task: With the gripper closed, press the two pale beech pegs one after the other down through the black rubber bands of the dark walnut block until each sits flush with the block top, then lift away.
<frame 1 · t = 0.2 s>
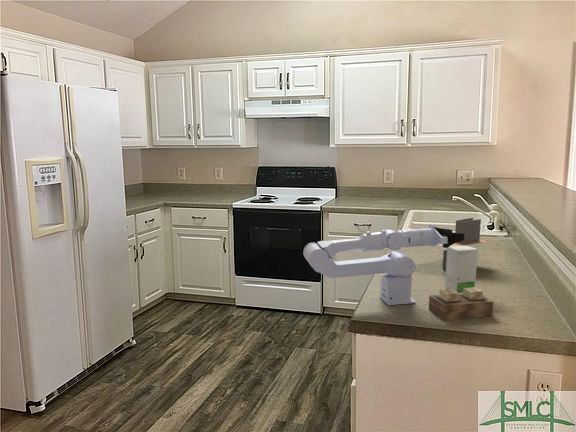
hand: (457, 234, 157), 21 cm above the worktop, tool horizontal, fingers open, 7 cm apart
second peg: (472, 296, 146), point 5 cm above the worktop, slide at 0.0 cm
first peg: (448, 298, 145), point 5 cm above the worktop, slide at 0.0 cm
walnut block: (459, 312, 146), on the worktop
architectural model: (460, 268, 194), on the worktop
skincare box: (459, 291, 166), on the worktop
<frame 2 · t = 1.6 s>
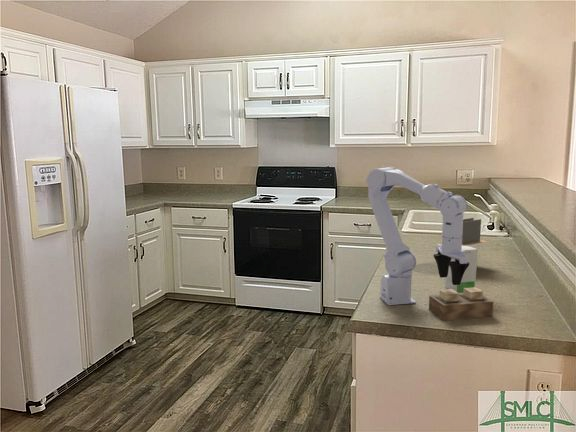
hand: (449, 280, 144), 10 cm above the worktop, tool pointing down, fingers open, 7 cm apart
nothing on the worktop moved.
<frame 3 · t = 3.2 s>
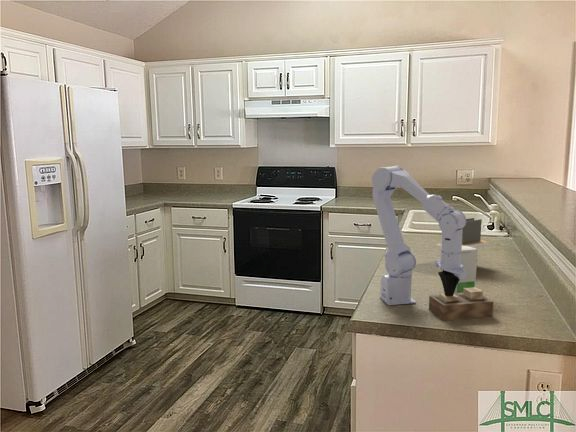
hand: (449, 295, 145), 6 cm above the worktop, tool pointing down, fingers closed, pressing on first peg
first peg: (448, 301, 145), point 4 cm above the worktop, slide at 1.2 cm, touching gripper
everything else where it was.
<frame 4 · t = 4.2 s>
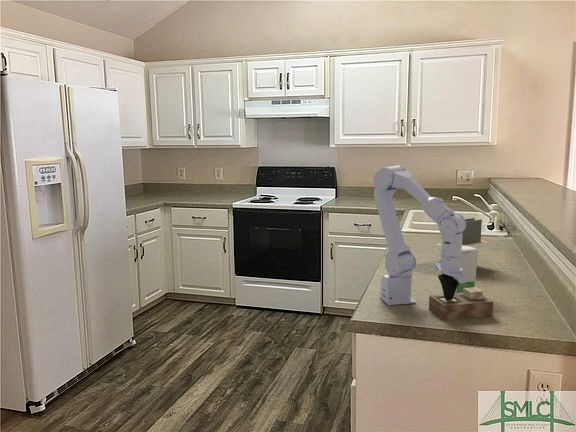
hand: (448, 298, 145), 5 cm above the worktop, tool pointing down, fingers closed
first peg: (448, 306, 145), point 2 cm above the worktop, slide at 2.6 cm
everything else where it was.
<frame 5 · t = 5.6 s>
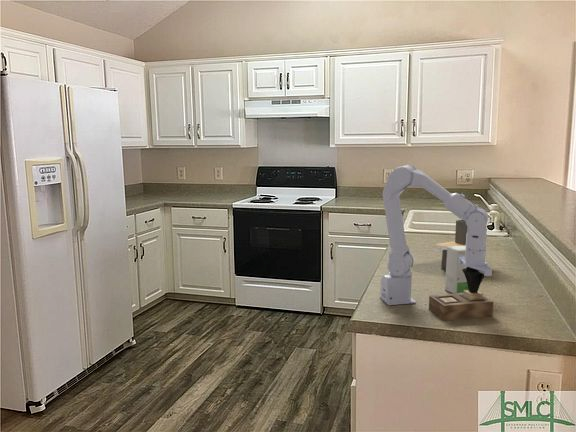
hand: (473, 292, 146), 6 cm above the worktop, tool pointing down, fingers closed, pressing on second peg
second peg: (472, 298, 146), point 4 cm above the worktop, slide at 0.7 cm, touching gripper
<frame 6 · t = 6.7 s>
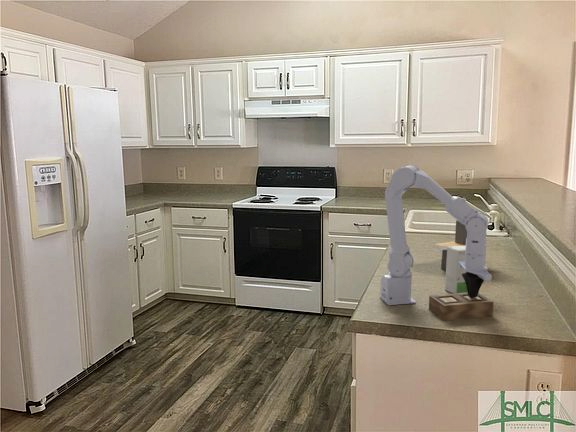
hand: (472, 296, 146), 5 cm above the worktop, tool pointing down, fingers closed
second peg: (472, 304, 147), point 2 cm above the worktop, slide at 2.6 cm
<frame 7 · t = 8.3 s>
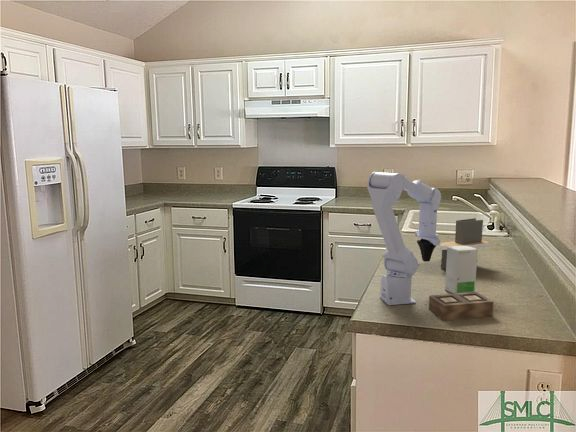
hand: (426, 260, 166), 10 cm above the worktop, tool pointing down, fingers closed
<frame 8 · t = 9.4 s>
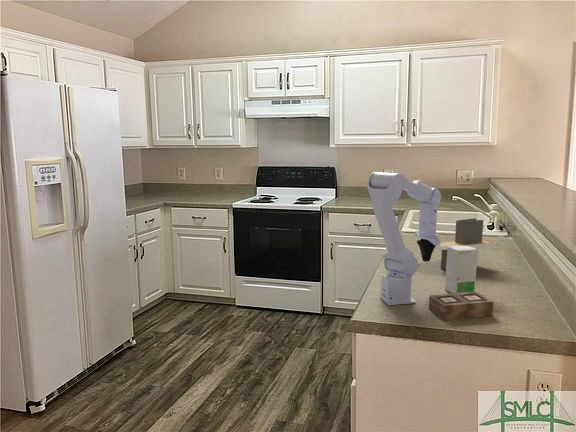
hand: (426, 260, 166), 10 cm above the worktop, tool pointing down, fingers closed
at the end: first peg slide at 2.6 cm; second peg slide at 2.6 cm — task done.
